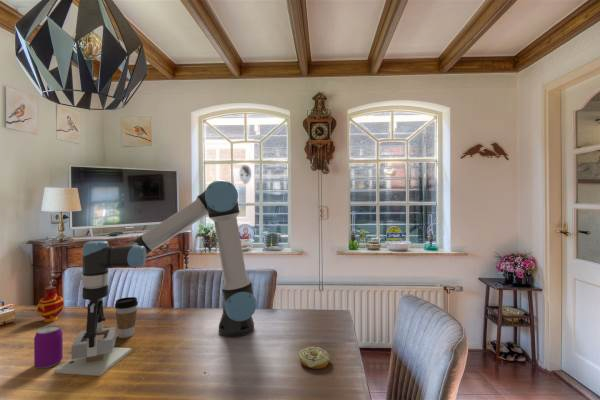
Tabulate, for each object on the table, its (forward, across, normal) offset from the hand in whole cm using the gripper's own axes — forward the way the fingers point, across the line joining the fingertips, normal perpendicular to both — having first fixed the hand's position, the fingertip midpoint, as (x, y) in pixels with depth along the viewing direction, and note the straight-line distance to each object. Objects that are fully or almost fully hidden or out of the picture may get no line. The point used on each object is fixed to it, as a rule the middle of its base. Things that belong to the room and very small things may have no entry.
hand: (95, 347), depth 110 cm
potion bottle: (+5, -52, -25) cm, 58 cm away
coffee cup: (+5, -20, +8) cm, 22 cm away
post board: (+5, 0, 0) cm, 5 cm away
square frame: (0, 0, 0) cm, 0 cm away
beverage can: (+5, -5, -14) cm, 16 cm away
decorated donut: (+5, +31, +70) cm, 77 cm away
